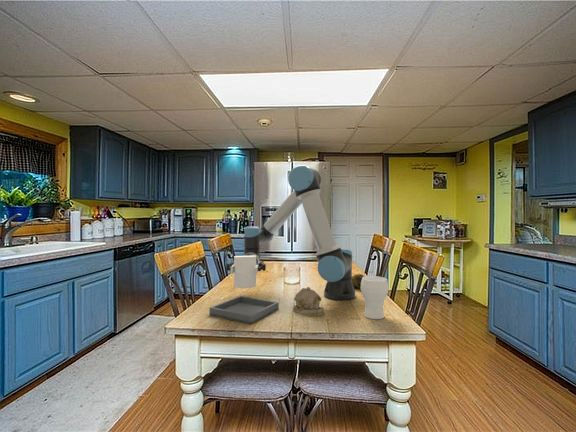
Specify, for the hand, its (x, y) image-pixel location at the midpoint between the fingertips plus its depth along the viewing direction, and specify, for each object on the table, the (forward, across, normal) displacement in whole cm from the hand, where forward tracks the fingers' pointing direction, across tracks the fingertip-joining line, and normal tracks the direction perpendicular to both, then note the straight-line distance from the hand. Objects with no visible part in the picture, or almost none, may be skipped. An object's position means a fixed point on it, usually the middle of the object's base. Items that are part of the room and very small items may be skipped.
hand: (243, 271), depth 124 cm
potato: (-45, -56, -18) cm, 74 cm away
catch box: (-4, 0, -18) cm, 18 cm away
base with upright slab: (-5, 0, -7) cm, 8 cm away
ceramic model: (-6, -26, -18) cm, 33 cm away
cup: (0, -52, -18) cm, 55 cm away
